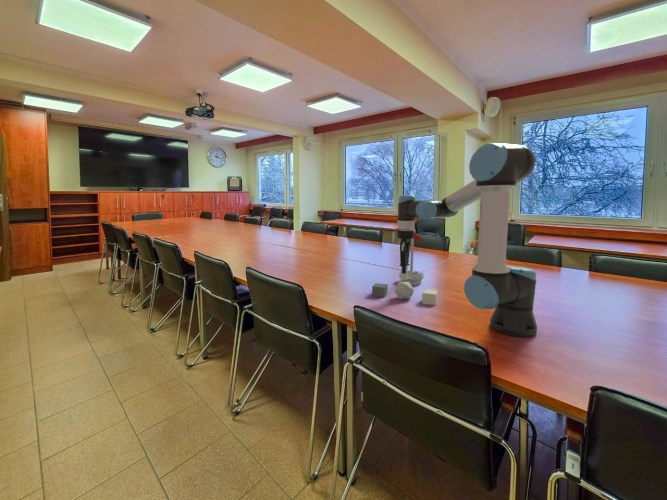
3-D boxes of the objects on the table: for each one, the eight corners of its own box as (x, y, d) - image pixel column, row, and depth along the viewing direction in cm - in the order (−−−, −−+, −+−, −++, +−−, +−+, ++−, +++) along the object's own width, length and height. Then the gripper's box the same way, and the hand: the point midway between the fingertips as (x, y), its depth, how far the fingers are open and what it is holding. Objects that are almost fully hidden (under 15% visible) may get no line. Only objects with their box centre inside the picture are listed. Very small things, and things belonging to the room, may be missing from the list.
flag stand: (397, 284, 180) (399, 229, 175) (400, 278, 192) (401, 227, 187) (422, 286, 176) (424, 230, 171) (423, 280, 189) (425, 227, 183)
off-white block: (435, 305, 148) (436, 294, 147) (422, 303, 150) (422, 293, 149) (437, 301, 153) (437, 290, 153) (423, 299, 156) (424, 289, 155)
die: (409, 303, 152) (419, 285, 153) (392, 294, 152) (402, 276, 154) (405, 304, 160) (414, 287, 161) (389, 295, 160) (399, 278, 162)
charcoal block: (384, 297, 159) (384, 287, 158) (372, 296, 162) (372, 286, 161) (387, 294, 165) (387, 284, 164) (375, 292, 167) (375, 283, 166)
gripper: (400, 227, 159) (399, 275, 163) (394, 230, 147) (392, 282, 152) (416, 228, 156) (414, 276, 161) (411, 231, 144) (409, 284, 149)
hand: (404, 279), depth 156 cm, fingers closed
